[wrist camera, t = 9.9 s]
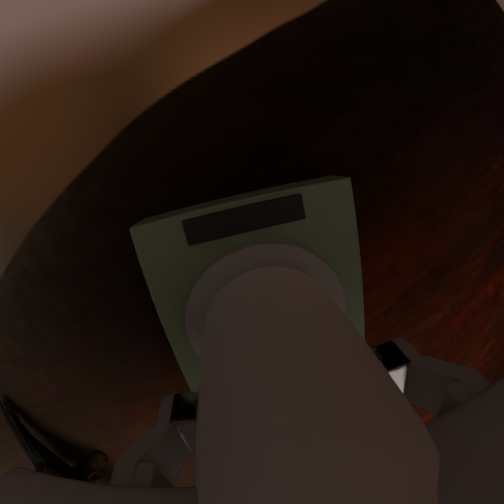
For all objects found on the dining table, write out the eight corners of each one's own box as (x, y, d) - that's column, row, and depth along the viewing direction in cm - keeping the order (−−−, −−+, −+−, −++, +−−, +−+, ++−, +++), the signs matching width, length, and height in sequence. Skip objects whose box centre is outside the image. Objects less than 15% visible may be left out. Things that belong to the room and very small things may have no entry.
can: (280, 387, 16) (331, 578, 4) (181, 338, 14) (148, 578, 3) (354, 303, 15) (498, 485, 3) (254, 236, 13) (372, 520, 2)
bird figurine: (-9, 415, 18) (29, 574, 5) (6, 382, 17) (56, 589, 4) (81, 436, 28) (130, 568, 15) (114, 409, 27) (180, 567, 14)
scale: (141, 219, 16) (124, 231, 13) (333, 175, 16) (356, 177, 13) (196, 374, 19) (193, 405, 16) (351, 337, 19) (369, 362, 16)
